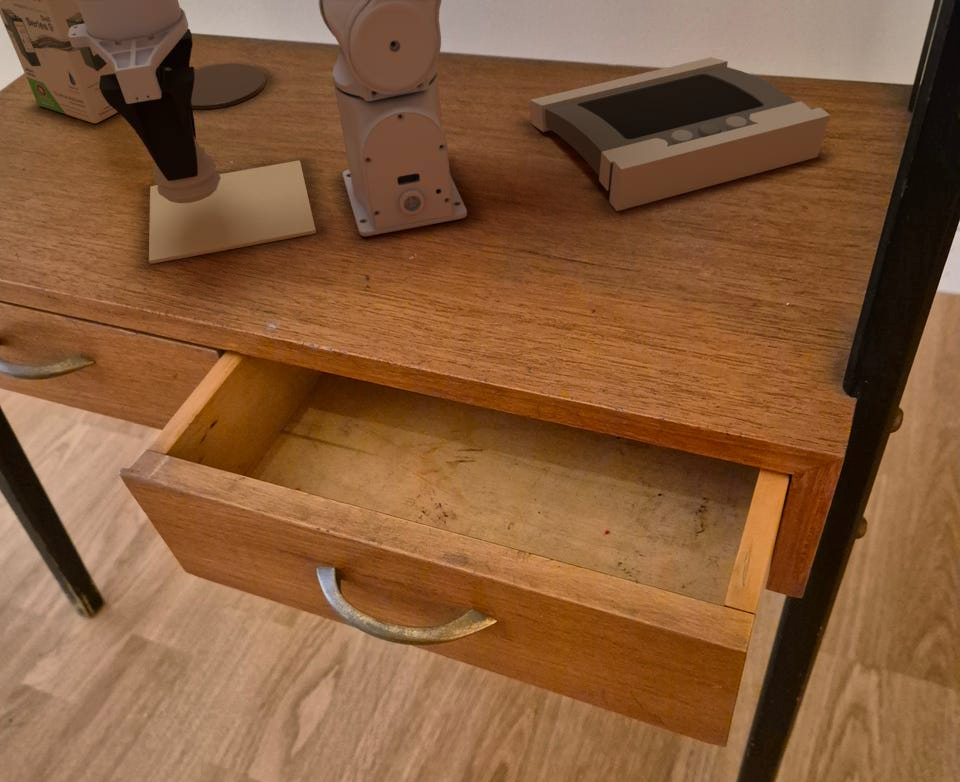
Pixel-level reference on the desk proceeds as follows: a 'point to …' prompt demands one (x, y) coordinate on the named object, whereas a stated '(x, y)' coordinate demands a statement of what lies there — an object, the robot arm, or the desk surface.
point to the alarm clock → (681, 129)
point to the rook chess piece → (190, 180)
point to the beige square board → (232, 214)
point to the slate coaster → (225, 85)
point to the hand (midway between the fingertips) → (182, 162)
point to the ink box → (56, 57)
